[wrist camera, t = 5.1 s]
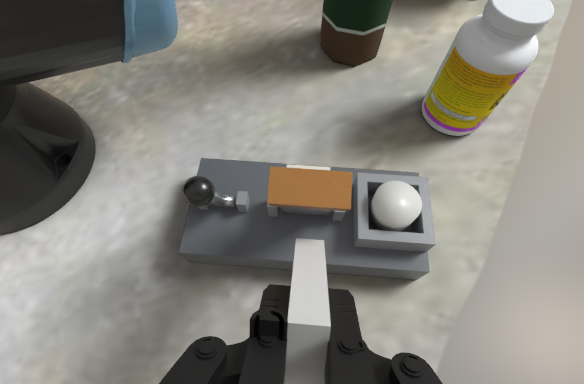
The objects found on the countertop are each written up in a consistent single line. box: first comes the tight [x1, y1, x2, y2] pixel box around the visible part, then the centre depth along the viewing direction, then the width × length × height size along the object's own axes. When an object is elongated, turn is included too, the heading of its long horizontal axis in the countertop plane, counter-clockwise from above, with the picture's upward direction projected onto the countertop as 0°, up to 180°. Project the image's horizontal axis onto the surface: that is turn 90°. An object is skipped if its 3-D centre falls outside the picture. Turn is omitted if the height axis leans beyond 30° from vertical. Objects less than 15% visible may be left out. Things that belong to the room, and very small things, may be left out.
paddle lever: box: [267, 166, 353, 216], centre depth 22 cm, size 2×4×12 cm, turn 85°
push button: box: [369, 181, 422, 232], centre depth 26 cm, size 4×4×2 cm
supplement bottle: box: [422, 0, 554, 136], centre depth 31 cm, size 7×7×13 cm
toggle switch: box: [183, 176, 236, 207], centre depth 24 cm, size 2×2×8 cm
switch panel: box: [178, 158, 436, 280], centre depth 28 cm, size 9×20×5 cm, turn 86°
